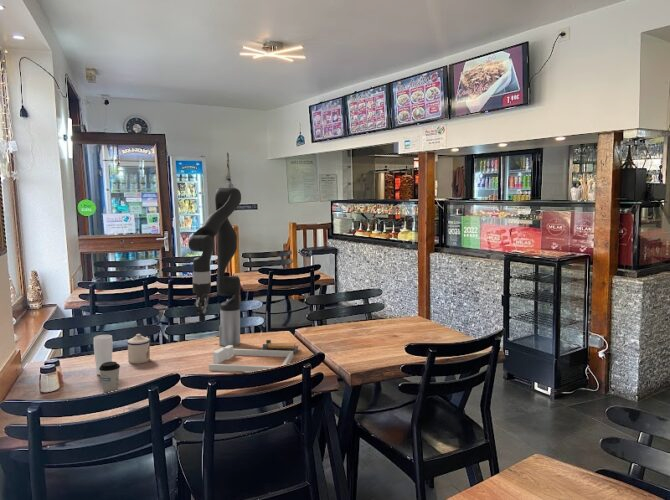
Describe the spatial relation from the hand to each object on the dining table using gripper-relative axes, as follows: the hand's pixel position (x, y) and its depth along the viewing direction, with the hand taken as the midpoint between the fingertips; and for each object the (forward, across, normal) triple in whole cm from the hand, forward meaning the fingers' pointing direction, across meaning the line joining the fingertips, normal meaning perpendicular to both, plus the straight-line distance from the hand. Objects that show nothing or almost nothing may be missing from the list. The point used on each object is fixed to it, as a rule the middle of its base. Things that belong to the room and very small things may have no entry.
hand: (202, 321), depth 208 cm
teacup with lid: (+18, +2, -28) cm, 33 cm away
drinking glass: (+18, +20, -33) cm, 43 cm away
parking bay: (+17, +1, +22) cm, 28 cm away
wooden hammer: (+15, -17, +31) cm, 38 cm away
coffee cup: (+18, +36, -22) cm, 45 cm away
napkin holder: (+18, -3, +9) cm, 20 cm away
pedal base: (+17, -17, +30) cm, 39 cm away
